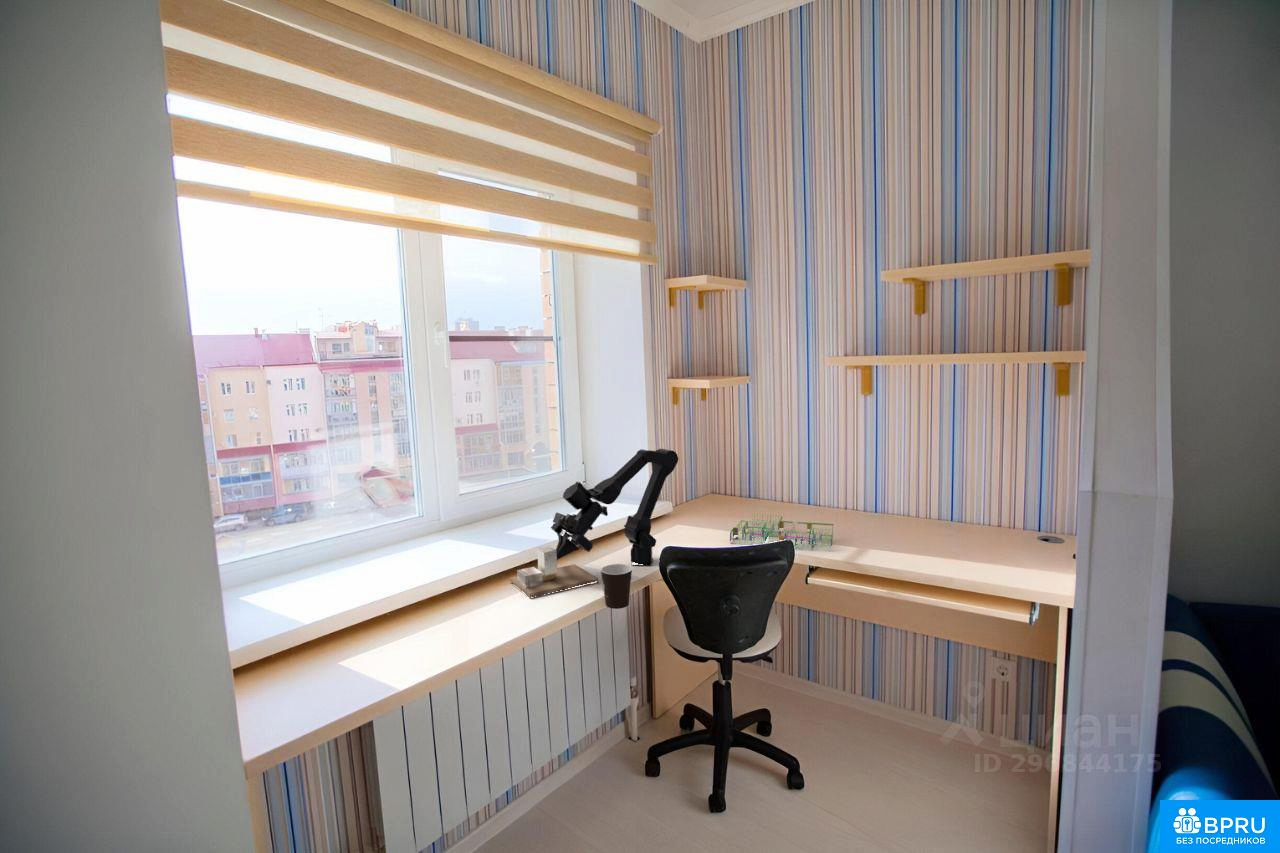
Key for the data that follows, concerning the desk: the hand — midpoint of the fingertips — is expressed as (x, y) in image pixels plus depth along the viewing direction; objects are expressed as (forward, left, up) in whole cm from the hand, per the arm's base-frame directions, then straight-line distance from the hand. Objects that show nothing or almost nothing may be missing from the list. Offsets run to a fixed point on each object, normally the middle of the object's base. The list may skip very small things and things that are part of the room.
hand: (554, 559), depth 193 cm
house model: (-73, -54, -8) cm, 91 cm away
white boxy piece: (+4, +3, -5) cm, 7 cm away
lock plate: (+1, +1, -7) cm, 7 cm away
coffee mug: (-22, +14, -7) cm, 27 cm away
